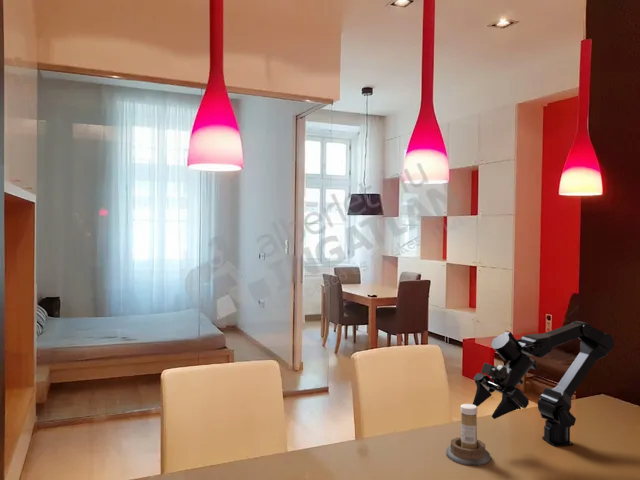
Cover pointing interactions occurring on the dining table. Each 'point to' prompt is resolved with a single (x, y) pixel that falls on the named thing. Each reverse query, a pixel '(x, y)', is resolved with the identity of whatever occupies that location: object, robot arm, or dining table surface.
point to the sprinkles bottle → (469, 426)
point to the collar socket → (467, 453)
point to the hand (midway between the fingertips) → (482, 412)
